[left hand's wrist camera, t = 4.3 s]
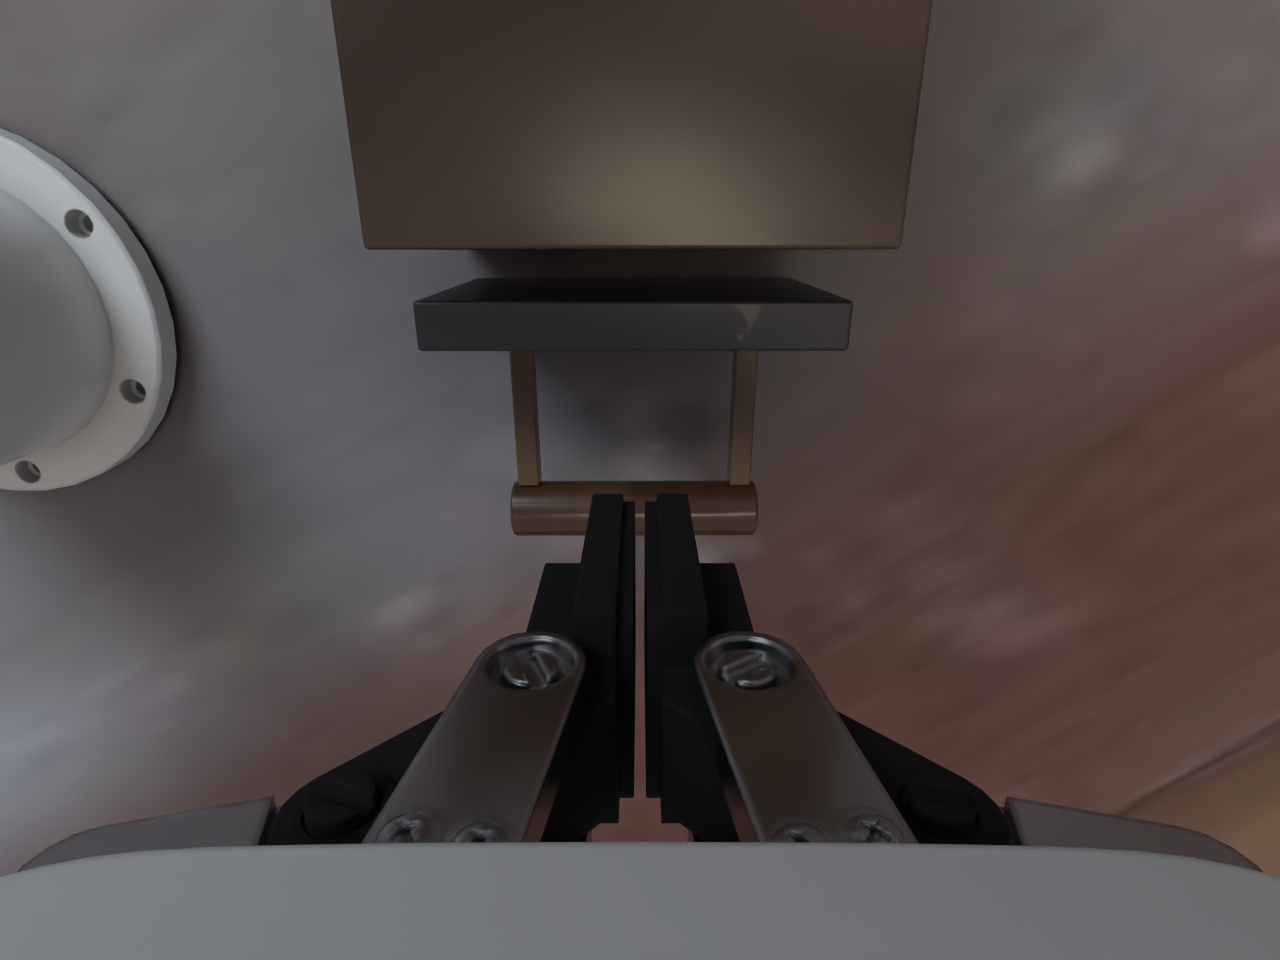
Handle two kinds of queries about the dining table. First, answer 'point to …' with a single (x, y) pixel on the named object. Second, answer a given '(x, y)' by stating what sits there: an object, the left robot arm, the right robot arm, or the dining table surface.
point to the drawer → (633, 322)
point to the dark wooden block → (631, 122)
